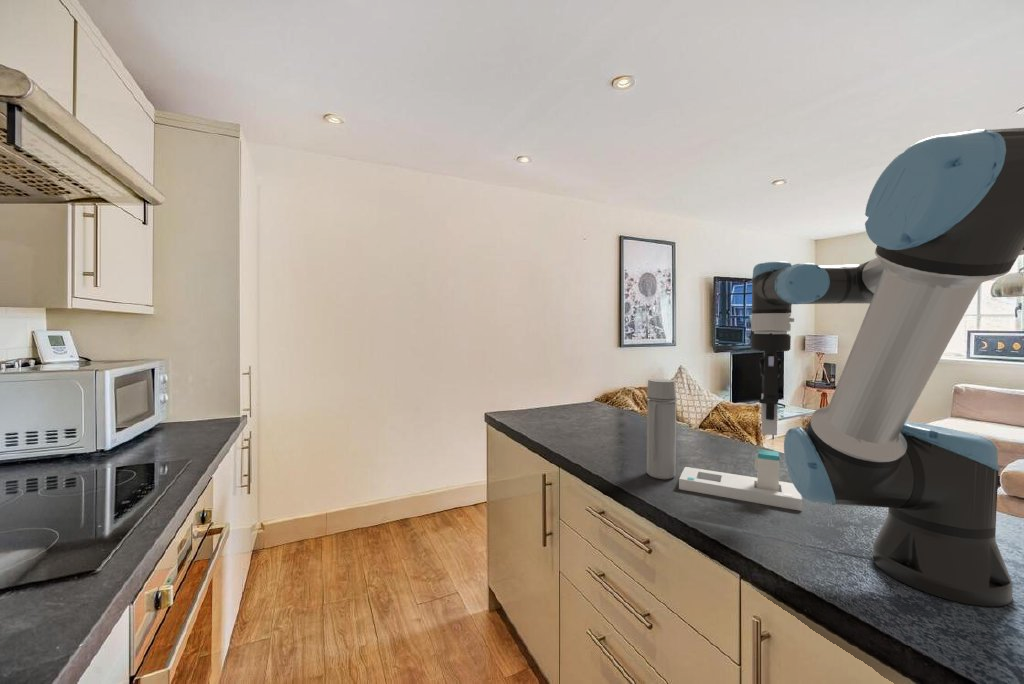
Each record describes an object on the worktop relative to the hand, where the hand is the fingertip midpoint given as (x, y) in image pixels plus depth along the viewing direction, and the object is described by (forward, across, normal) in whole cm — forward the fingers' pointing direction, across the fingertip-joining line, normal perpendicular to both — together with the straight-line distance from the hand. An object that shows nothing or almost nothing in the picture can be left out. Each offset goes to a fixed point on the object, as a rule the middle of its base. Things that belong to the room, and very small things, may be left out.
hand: (768, 427), depth 94 cm
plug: (+16, 0, 0) cm, 16 cm away
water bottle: (+17, +2, +24) cm, 29 cm away
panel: (+16, 0, +6) cm, 17 cm away
